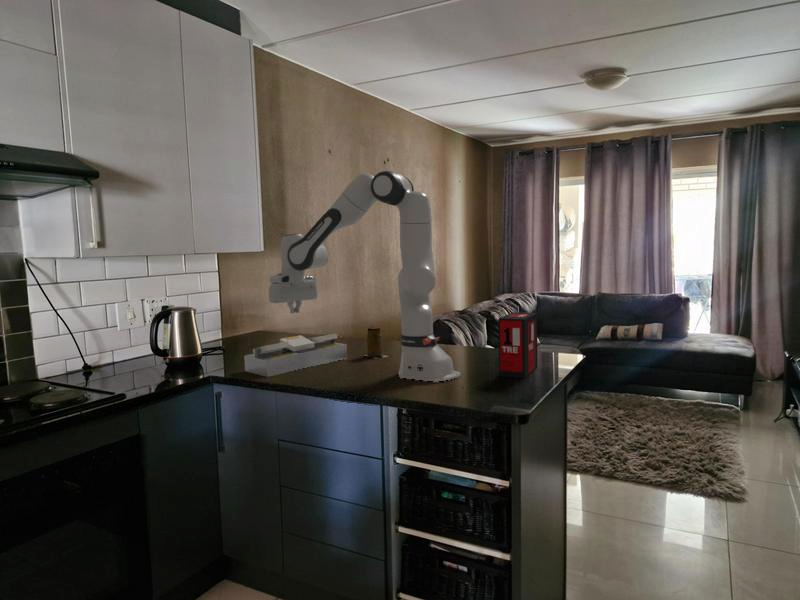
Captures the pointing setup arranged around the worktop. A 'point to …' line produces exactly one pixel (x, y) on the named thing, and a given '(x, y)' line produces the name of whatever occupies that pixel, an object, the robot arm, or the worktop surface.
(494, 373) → the worktop surface
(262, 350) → the rocker
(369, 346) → the condiment
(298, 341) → the rocker
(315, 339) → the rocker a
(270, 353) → the switch unit
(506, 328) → the cleaning product box
